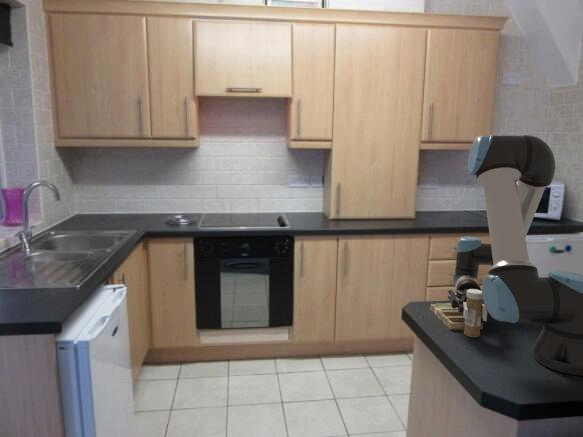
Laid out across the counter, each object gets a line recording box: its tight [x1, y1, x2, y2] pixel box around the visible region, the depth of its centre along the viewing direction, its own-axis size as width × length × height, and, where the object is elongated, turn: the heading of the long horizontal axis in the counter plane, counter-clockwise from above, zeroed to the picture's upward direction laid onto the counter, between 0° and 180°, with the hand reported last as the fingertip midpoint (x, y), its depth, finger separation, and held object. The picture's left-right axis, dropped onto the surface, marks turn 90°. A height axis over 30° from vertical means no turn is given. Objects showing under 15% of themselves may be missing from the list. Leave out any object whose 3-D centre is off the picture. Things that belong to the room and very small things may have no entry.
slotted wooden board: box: [430, 302, 484, 331], centre depth 141 cm, size 16×10×2 cm, turn 3°
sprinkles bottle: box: [463, 289, 483, 338], centre depth 129 cm, size 5×5×14 cm
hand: (475, 315), depth 123 cm, fingers closed on sprinkles bottle, 4 cm apart
